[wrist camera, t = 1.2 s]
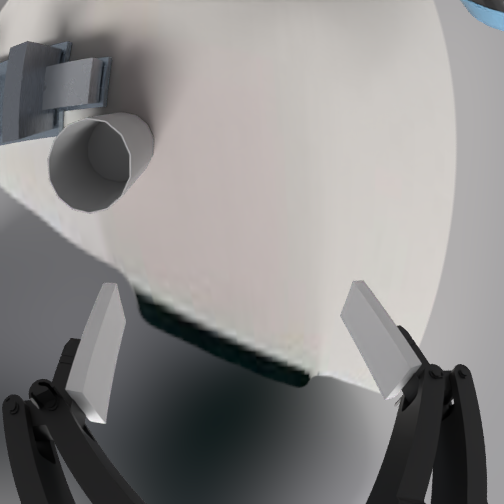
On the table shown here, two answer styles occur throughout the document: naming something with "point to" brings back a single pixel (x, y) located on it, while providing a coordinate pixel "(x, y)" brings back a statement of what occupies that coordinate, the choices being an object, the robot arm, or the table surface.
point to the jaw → (44, 88)
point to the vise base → (59, 112)
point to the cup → (99, 160)
